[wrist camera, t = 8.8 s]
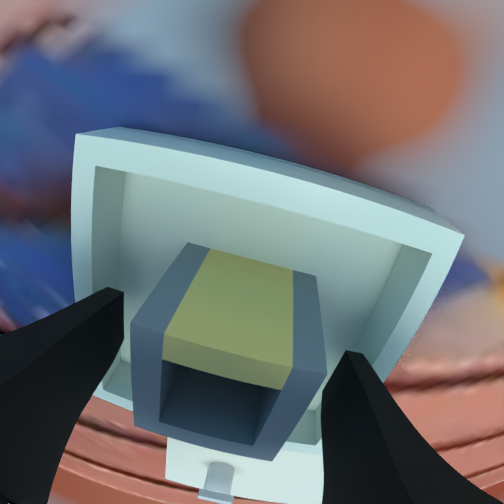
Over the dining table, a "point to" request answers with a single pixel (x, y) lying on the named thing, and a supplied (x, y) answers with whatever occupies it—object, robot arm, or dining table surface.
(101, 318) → the robot arm
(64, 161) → the dining table surface
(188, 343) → the collar
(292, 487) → the base
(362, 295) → the tray
